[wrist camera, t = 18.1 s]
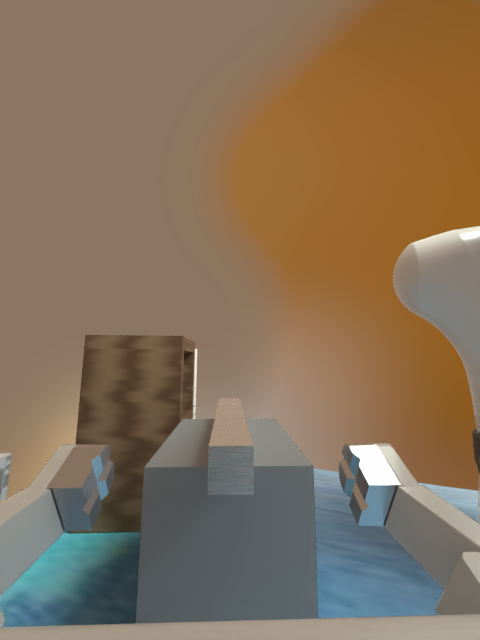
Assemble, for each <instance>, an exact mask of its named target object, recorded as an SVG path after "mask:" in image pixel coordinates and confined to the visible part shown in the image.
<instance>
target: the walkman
mask: <svg viewBox="0 0 480 640" xmlns="http://www.w3.org/2000/svg"><path fill="white" fill-rule="evenodd" d="M10 460H11V453H2V454H0V503H2V502H3V501H5V500H6V496H7V485H8V478H9V468H10Z"/></svg>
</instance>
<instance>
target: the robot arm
mask: <svg viewBox="0 0 480 640" xmlns="http://www.w3.org/2000/svg"><path fill="white" fill-rule="evenodd" d="M393 285H394V289H395V292H396V294H397V296H398V298H399V300H400V301H401V303H403V305H404V306H405V307H406V308H407V309H409V310H410V311H412V312H413V313H415V314H417V315H419V316H421V317H423V318H424V319H425V320H427V321H429V322H430V323H431V324H433V325H434V326H435V327H436V328H438V329H439V330H440V331H441V332H442V333H443V334H444V335H445V336H446V337H447V339H448V340H449V341H450V342H451V343H452V345H453V346H454V348H455V349H456V351H457V352H458V354H459V356H460V358H461V359H462V362H463V364H464V367H465V370H466V373H467V378H468V382H469V386H470V391H471V396H472V402H473V408H474V415H475V423H476V429H475V430H474V431H473V432H472V434H473V448H474V458H475V461H476V464H477V467H478V470H479V473H480V226H478V227H471V228H465V229H459V230H451V231H448V232H445V233H441V234H438V235H435V236H431V237H428V238H426V239H422V240H420V241H417V242H414V243H411V244H410V245H409V246H408V247H407V248H406V249H405V250H404V251H403V252H402V254H401V255H400V257H399V258H398V260H397V262H396V265H395V268H394V272H393ZM342 453H343V455H344V459H342V460H341V462H340V464H339V478H340V482H341V485H342V488H343V490H344V492H345V493H346V494H347V495H348V496H349V497H351V500H350V504H349V505H350V508H351V510H352V512H353V515H354V517H355V520H356V522H357V525H358V526H385V527H384V528H385V529H386V530H387V531H388V532H389V533H390V534H391V535H392V536H393V537H394V538H395V539H396V541H397V542H398V543H399V544H400V545H401V546H402V547H403V548H404V549H405V550H406V551H407V552H408V553H409V554H410V555H411V556H412V557H413V558H414V559H415V560H416V561H417V562H418V564H419V565H420V566H421V567H422V568H423V569H424V570H425V571H426V572H427V573H428V574H429V575H430V576H431V577H432V578H433V579H434V580H435V581H436V582H437V583H438V584H439V585H440V587H441V588H442V589H443V592H442V594H441V596H440V598H439V600H438V602H437V605H436V608H435V610H436V612H437V614H438V615H427V616H390V617H353V618H316V619H278V620H241V621H205V622H168V623H132V624H96V625H60V626H24V627H2V626H3V624H4V622H5V617H4V614H3V612H2V610H1V608H0V640H480V474H479V497H478V521H477V522H476V521H474V520H473V519H471V518H470V517H468V516H467V515H465V514H464V513H463V512H461V511H460V510H458V509H457V508H455V507H454V506H452V505H451V504H450V503H448V502H447V501H445V500H444V499H442V498H441V497H439V496H438V495H437V494H435V493H434V492H432V491H431V490H429V489H428V488H426V487H425V486H419V484H418V483H417V482H416V480H415V479H414V477H413V476H412V475H411V473H410V472H409V470H408V469H407V467H406V466H405V465H404V463H403V462H402V460H401V459H400V457H399V456H398V455H397V453H396V452H395V450H394V449H393V448H392V446H391V445H389V444H388V443H385V444H384V443H381V444H345V445H344V447H343V450H342ZM110 455H111V449H110V446H108V445H84V444H78V445H69V444H63V445H61V446H60V447H58V448H57V450H56V451H55V452H54V454H53V455H52V456H51V458H50V459H49V460H48V461H47V463H46V464H45V466H44V467H43V468H42V469H41V471H40V472H39V473H38V475H37V476H36V478H35V479H34V480H33V481H32V483H31V484H30V485H29V487H28V488H27V489H22V490H20V491H19V492H17V493H15V494H14V495H12V496H11V497H9V498H8V499H6V500H5V501H3V502H2V503H0V596H1V595H2V594H3V593H4V592H5V591H6V590H7V589H8V588H9V587H10V586H11V585H12V584H13V583H14V582H15V581H16V580H17V579H18V578H19V577H20V576H21V575H22V574H23V573H24V572H25V571H26V570H27V569H28V568H29V567H30V566H31V565H32V564H33V563H34V562H35V561H36V560H37V559H38V558H39V557H40V556H41V555H42V554H43V553H44V552H45V551H46V550H47V549H48V548H49V547H50V546H51V545H52V544H53V543H54V542H55V541H56V540H57V539H58V538H59V537H60V536H61V535H62V534H63V533H64V531H75V530H93V527H94V525H95V523H96V521H97V519H98V516H99V514H100V512H101V510H102V504H101V500H102V499H103V498H104V497H105V496H107V495H108V494H109V491H110V489H111V487H112V483H113V479H114V463H113V462H112V461H111V460H109V457H110Z"/></svg>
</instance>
